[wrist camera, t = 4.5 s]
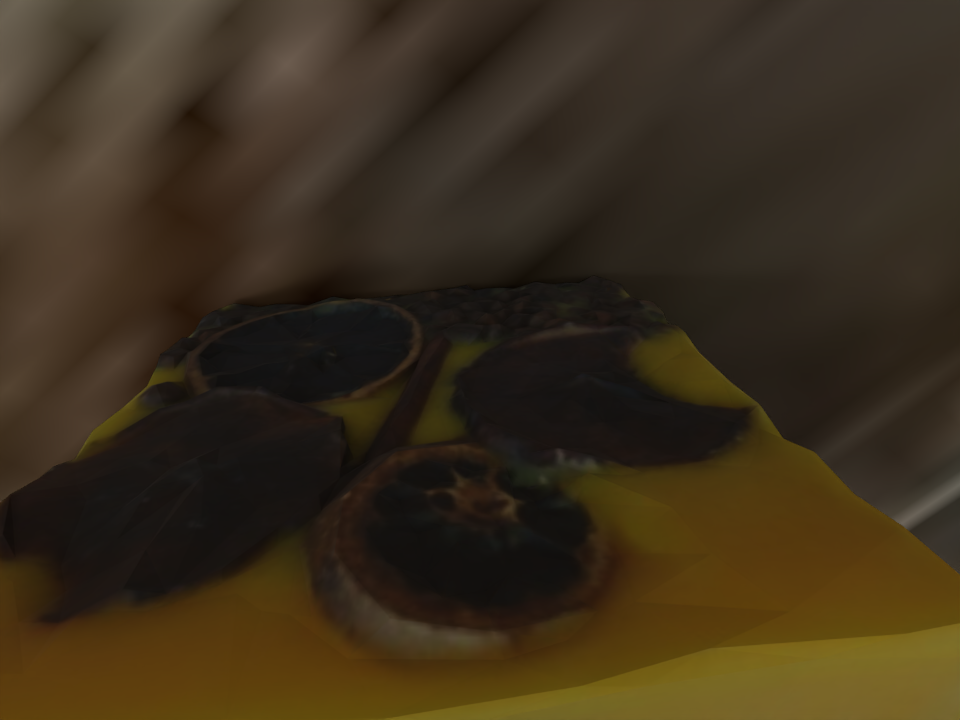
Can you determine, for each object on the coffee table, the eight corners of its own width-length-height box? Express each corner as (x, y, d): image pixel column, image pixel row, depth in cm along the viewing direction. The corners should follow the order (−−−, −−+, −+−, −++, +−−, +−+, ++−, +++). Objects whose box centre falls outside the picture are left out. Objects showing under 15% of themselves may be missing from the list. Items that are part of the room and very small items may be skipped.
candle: (606, 568, 17) (809, 1064, 8) (293, 608, 17) (145, 1195, 8) (625, 264, 13) (1098, 615, 4) (199, 302, 12) (-415, 834, 3)
